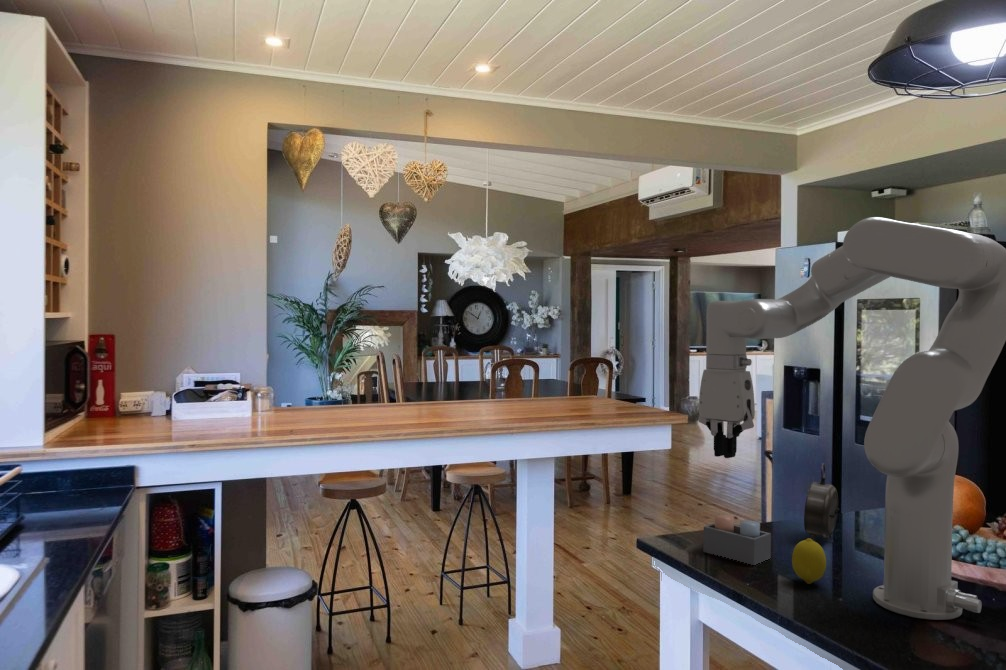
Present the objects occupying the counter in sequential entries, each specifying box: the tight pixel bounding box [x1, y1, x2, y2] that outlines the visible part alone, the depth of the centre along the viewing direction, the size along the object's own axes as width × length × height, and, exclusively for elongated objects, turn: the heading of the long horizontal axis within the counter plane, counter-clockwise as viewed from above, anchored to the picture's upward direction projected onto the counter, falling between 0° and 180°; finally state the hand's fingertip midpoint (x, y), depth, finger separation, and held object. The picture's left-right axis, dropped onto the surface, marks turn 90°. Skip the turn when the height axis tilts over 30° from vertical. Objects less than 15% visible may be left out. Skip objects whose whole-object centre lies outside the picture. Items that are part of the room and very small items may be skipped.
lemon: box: [791, 537, 827, 585], centre depth 128 cm, size 6×6×8 cm
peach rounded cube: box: [714, 513, 735, 533], centre depth 145 cm, size 4×4×4 cm
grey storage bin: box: [703, 522, 772, 566], centre depth 143 cm, size 11×6×5 cm, turn 41°
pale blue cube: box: [739, 519, 761, 538], centre depth 141 cm, size 4×4×4 cm
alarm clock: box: [803, 462, 840, 543], centre depth 152 cm, size 11×5×16 cm, turn 144°
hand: (724, 455), depth 145 cm, fingers closed
